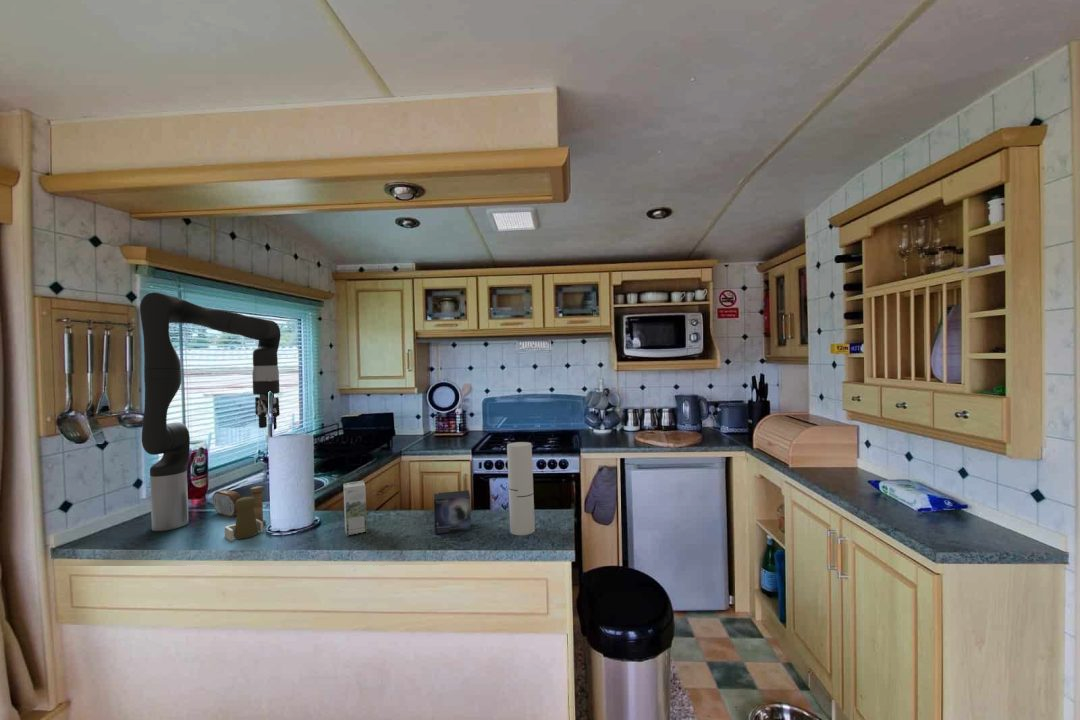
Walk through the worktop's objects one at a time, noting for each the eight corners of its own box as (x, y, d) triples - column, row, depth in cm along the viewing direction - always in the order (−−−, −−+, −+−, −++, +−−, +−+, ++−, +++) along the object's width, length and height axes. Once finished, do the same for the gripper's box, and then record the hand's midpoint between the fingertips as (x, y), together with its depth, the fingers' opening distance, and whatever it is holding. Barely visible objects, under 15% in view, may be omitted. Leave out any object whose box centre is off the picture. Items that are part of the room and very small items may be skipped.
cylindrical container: (517, 524, 135) (514, 441, 136) (539, 527, 132) (535, 442, 132) (505, 533, 129) (502, 445, 129) (527, 536, 126) (524, 447, 126)
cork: (246, 538, 131) (244, 501, 131) (229, 537, 133) (227, 500, 133) (263, 531, 137) (261, 495, 137) (246, 530, 139) (245, 494, 139)
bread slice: (244, 516, 154) (243, 491, 154) (234, 519, 151) (233, 494, 151) (221, 510, 161) (220, 487, 161) (211, 513, 158) (210, 489, 158)
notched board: (224, 536, 135) (224, 526, 135) (256, 528, 141) (256, 518, 141) (230, 541, 131) (230, 530, 131) (263, 531, 138) (263, 522, 138)
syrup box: (364, 526, 139) (363, 479, 139) (367, 533, 134) (365, 484, 134) (344, 530, 136) (343, 482, 136) (346, 537, 131) (344, 487, 131)
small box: (434, 535, 129) (433, 499, 130) (434, 527, 136) (433, 493, 136) (471, 531, 132) (470, 495, 132) (469, 523, 138) (468, 489, 138)
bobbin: (249, 526, 144) (247, 488, 144) (263, 522, 147) (261, 485, 147) (253, 528, 141) (252, 490, 141) (267, 524, 144) (266, 487, 144)
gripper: (245, 380, 151) (247, 428, 151) (261, 380, 142) (263, 431, 142) (270, 379, 157) (271, 425, 157) (286, 378, 148) (288, 428, 147)
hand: (267, 428), depth 149 cm, fingers open, 8 cm apart
